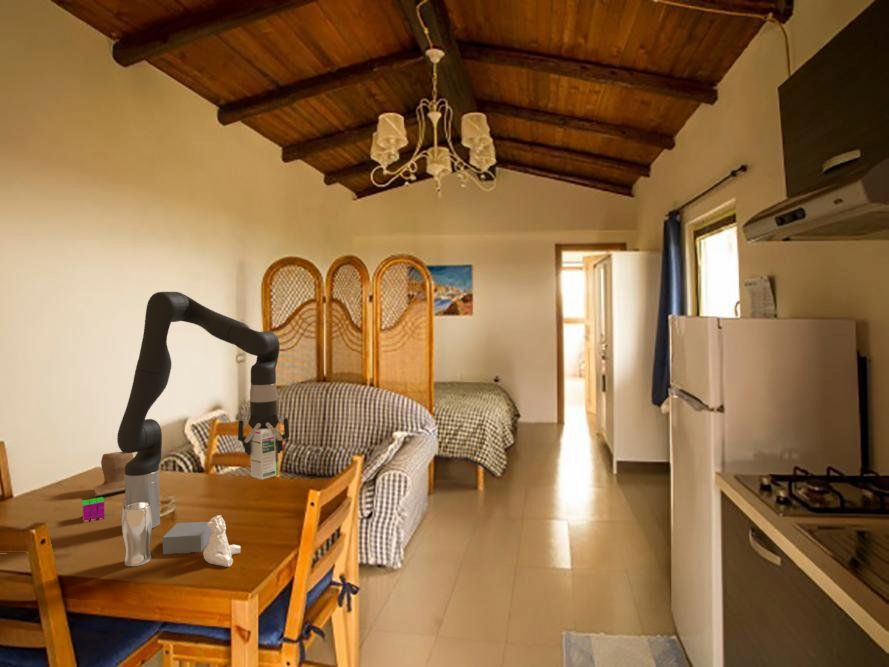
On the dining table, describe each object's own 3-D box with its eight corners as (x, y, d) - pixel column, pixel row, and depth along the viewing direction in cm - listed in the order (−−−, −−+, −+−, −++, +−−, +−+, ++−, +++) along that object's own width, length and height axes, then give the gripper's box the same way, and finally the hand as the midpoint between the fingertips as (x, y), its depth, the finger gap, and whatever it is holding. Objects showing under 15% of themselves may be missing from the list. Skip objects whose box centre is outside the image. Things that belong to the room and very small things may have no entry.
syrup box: (261, 480, 147) (261, 430, 147) (250, 476, 151) (249, 427, 150) (278, 475, 152) (278, 426, 151) (267, 471, 155) (266, 424, 155)
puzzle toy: (103, 513, 171) (102, 496, 171) (104, 518, 167) (104, 501, 167) (82, 518, 168) (81, 500, 168) (83, 523, 163) (82, 505, 163)
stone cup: (131, 483, 203) (130, 446, 203) (142, 489, 195) (141, 450, 195) (86, 493, 192) (85, 453, 191) (96, 500, 184) (95, 459, 183)
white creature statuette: (230, 567, 133) (229, 522, 132) (196, 569, 132) (195, 523, 132) (242, 551, 142) (241, 508, 142) (210, 552, 141) (209, 510, 141)
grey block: (162, 555, 141) (162, 537, 141) (177, 539, 151) (177, 523, 151) (200, 553, 142) (200, 535, 142) (213, 537, 152) (212, 521, 152)
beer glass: (131, 555, 140) (129, 501, 139) (157, 554, 140) (156, 500, 140) (117, 568, 133) (115, 511, 132) (145, 566, 133) (143, 510, 133)
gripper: (235, 402, 145) (236, 458, 146) (288, 399, 149) (288, 455, 149) (239, 398, 152) (240, 452, 153) (289, 396, 156) (289, 448, 156)
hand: (264, 453), depth 151 cm, fingers closed on syrup box, 8 cm apart
